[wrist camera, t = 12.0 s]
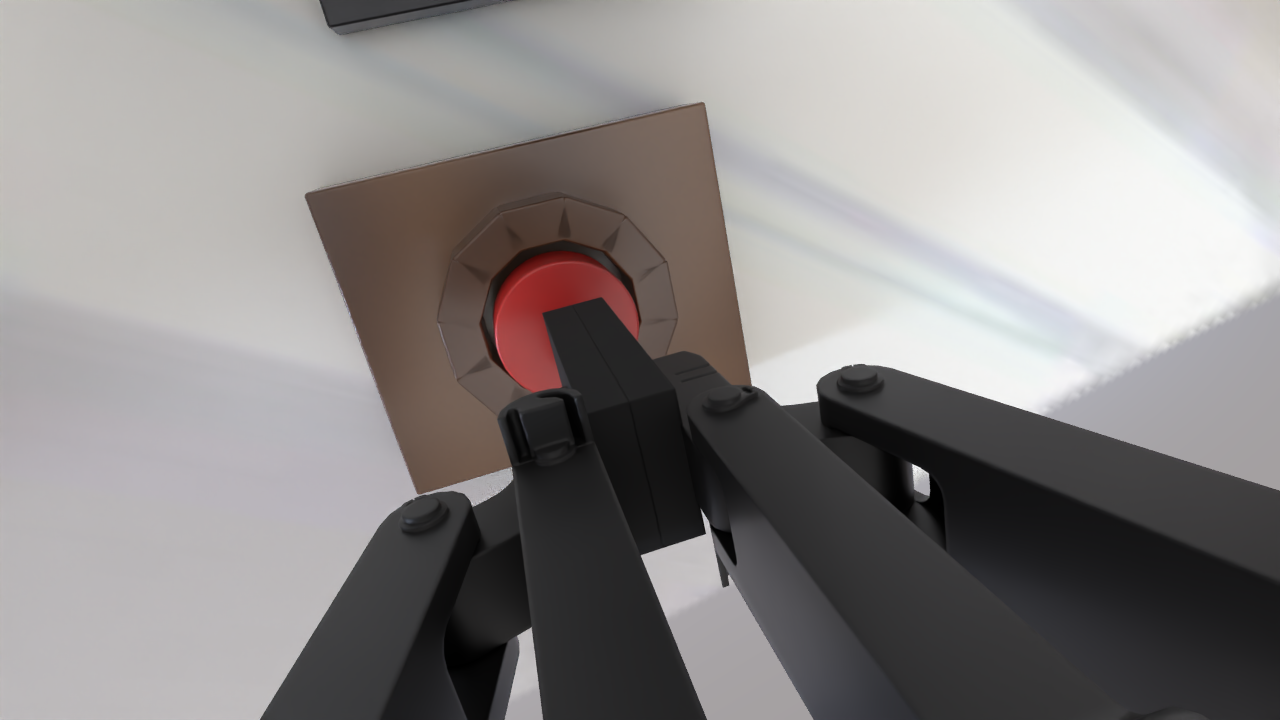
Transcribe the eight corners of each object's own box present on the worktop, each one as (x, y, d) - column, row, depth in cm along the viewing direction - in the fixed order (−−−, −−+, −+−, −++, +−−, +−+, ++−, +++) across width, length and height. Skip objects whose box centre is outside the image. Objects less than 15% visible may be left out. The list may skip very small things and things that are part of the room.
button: (513, 396, 21) (517, 418, 19) (475, 269, 20) (476, 281, 18) (638, 360, 22) (652, 378, 20) (610, 235, 20) (622, 244, 18)
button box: (421, 466, 25) (413, 524, 21) (319, 188, 21) (286, 199, 18) (732, 375, 26) (775, 413, 23) (684, 104, 23) (725, 98, 19)
